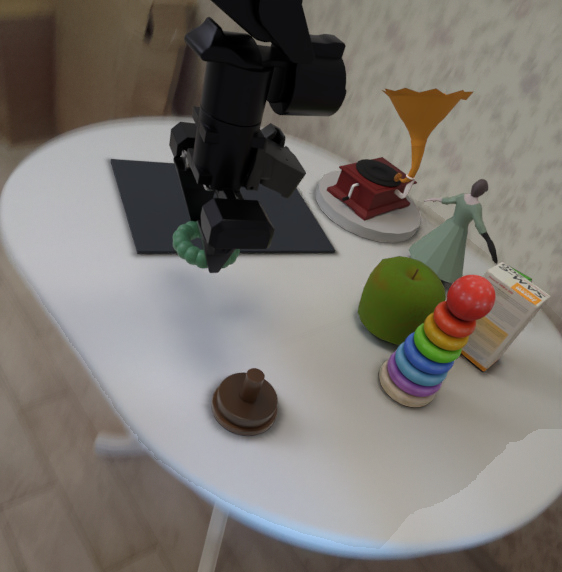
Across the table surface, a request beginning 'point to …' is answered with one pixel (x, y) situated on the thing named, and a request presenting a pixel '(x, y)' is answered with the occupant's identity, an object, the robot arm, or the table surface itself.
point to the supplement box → (503, 315)
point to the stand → (245, 403)
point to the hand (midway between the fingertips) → (205, 250)
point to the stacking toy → (436, 343)
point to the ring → (192, 252)
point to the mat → (173, 211)
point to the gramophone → (386, 175)
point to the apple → (399, 298)
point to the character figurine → (453, 235)
